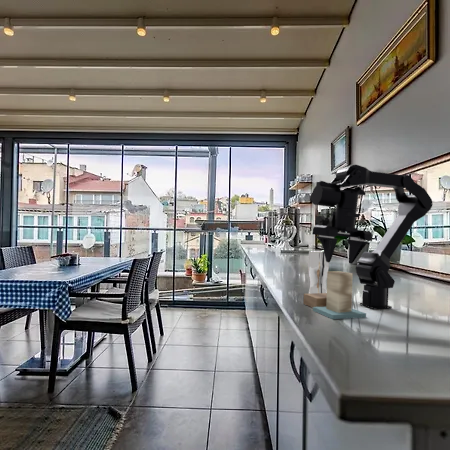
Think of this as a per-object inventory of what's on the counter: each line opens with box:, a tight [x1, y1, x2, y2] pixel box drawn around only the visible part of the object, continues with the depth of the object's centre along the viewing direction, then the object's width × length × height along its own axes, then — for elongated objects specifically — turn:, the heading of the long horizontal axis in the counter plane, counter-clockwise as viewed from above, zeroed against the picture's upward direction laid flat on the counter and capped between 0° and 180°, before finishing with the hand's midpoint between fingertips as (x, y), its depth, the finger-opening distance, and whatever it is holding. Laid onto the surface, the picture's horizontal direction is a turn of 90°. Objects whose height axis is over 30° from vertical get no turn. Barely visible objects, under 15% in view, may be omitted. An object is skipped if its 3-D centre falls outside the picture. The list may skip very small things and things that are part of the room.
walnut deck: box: [302, 292, 327, 309], centre depth 101 cm, size 8×7×3 cm
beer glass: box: [307, 250, 330, 294], centre depth 119 cm, size 7×7×15 cm
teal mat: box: [312, 307, 367, 320], centre depth 91 cm, size 10×9×1 cm
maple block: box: [326, 270, 354, 313], centre depth 92 cm, size 4×4×10 cm
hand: (339, 262), depth 100 cm, fingers open, 9 cm apart
